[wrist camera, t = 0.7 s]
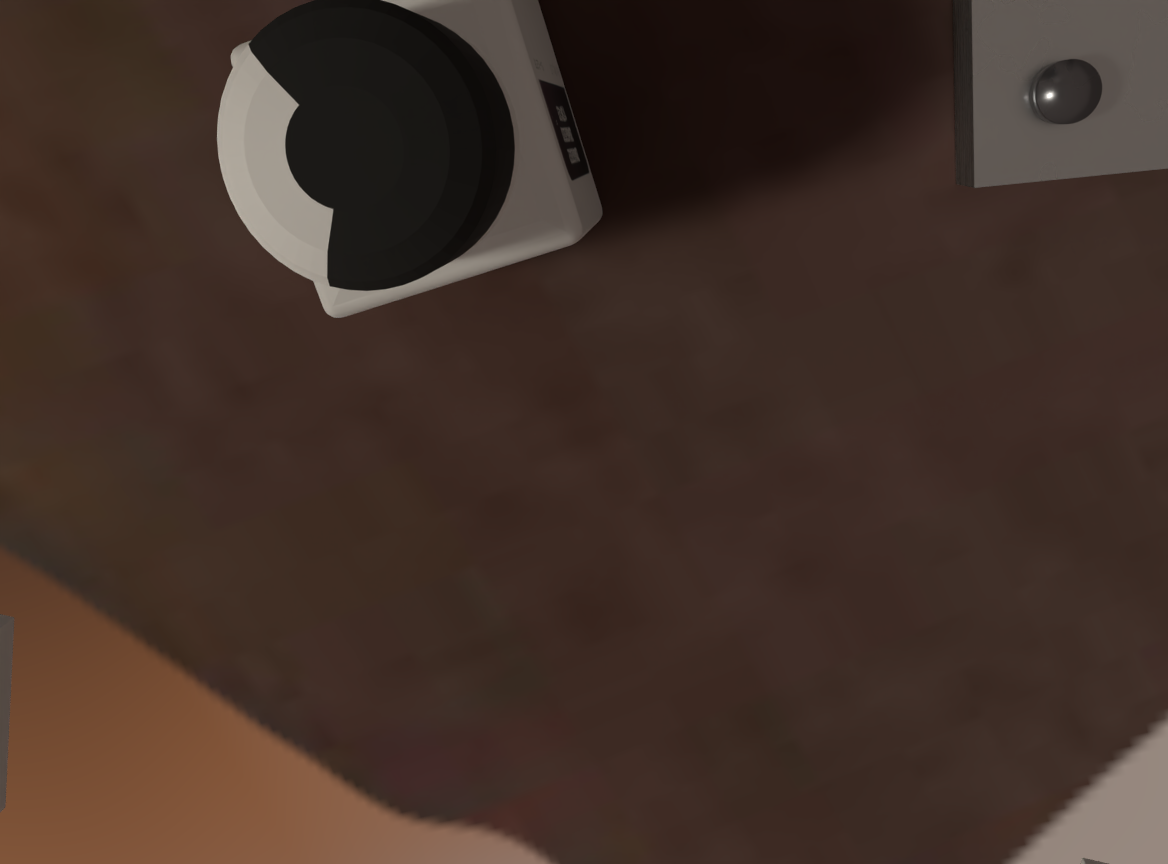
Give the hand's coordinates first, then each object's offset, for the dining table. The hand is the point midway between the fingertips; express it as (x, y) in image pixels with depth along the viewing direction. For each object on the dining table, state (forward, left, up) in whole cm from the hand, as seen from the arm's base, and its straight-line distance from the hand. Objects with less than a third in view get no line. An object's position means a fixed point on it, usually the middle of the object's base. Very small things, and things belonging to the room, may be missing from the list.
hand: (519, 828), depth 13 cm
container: (-8, -5, -26) cm, 28 cm away
